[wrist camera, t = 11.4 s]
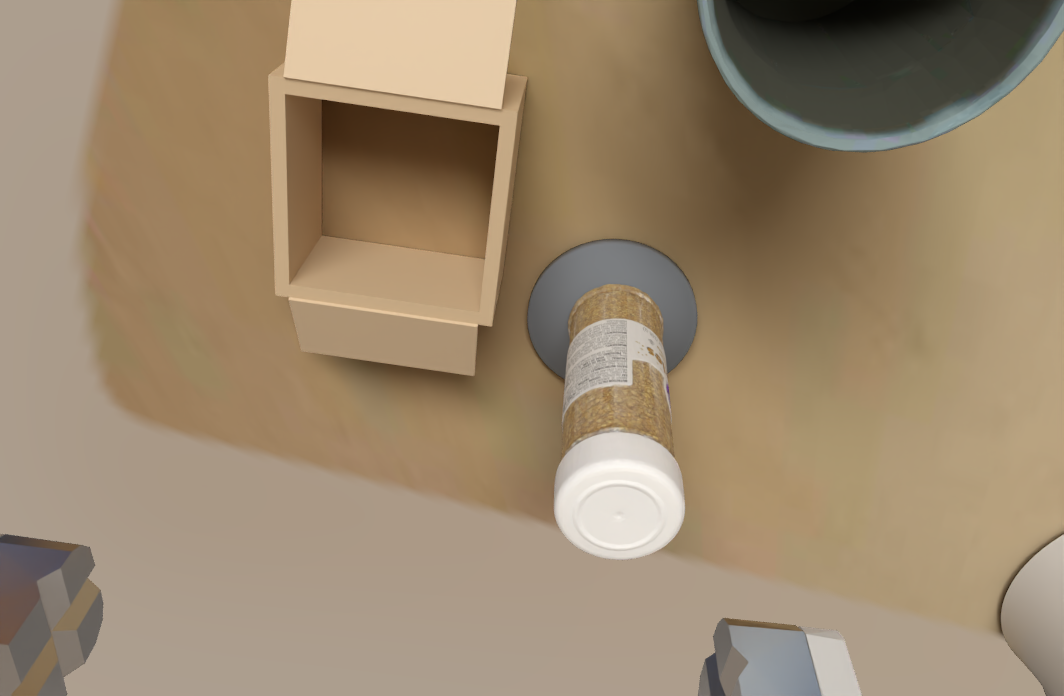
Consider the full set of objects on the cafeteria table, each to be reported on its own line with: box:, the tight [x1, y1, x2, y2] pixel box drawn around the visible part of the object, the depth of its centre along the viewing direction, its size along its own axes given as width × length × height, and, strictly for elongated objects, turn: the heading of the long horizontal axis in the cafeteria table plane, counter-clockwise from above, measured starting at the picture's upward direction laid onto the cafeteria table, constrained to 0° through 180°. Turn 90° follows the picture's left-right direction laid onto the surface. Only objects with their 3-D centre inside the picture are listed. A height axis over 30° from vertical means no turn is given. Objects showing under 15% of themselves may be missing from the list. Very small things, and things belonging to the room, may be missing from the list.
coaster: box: [527, 239, 697, 379], centre depth 41 cm, size 8×8×1 cm
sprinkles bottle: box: [554, 284, 685, 560], centre depth 36 cm, size 5×5×14 cm
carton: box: [268, 0, 528, 376], centre depth 36 cm, size 9×17×5 cm, turn 173°
